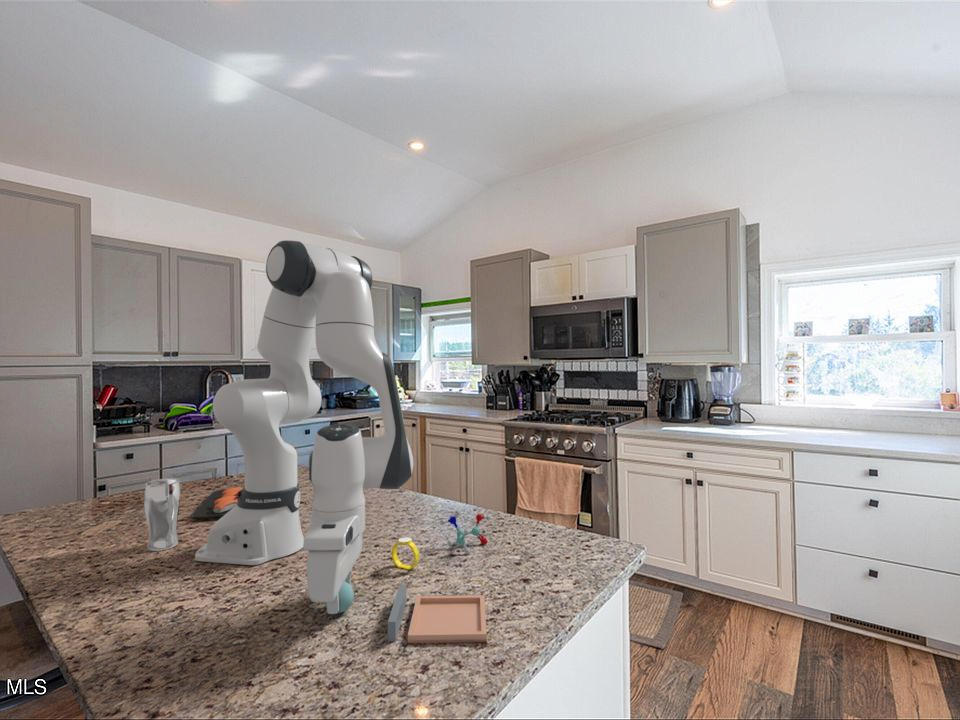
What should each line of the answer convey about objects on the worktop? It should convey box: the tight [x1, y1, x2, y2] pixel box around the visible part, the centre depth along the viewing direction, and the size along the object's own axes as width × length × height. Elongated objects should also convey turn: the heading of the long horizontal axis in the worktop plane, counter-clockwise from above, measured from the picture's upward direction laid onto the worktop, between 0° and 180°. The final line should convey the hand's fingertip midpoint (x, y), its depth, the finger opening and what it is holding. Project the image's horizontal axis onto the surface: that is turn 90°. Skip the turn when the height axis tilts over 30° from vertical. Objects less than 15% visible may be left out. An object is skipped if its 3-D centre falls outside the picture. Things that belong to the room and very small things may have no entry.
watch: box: [391, 536, 420, 571], centre depth 99 cm, size 6×3×6 cm, turn 65°
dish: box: [407, 594, 488, 644], centre depth 78 cm, size 12×12×1 cm
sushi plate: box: [192, 486, 307, 519], centre depth 145 cm, size 29×30×4 cm
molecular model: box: [439, 509, 492, 555], centre depth 110 cm, size 12×10×10 cm
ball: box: [323, 581, 355, 614], centre depth 81 cm, size 5×5×5 cm
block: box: [387, 584, 407, 643], centre depth 79 cm, size 1×12×3 cm, turn 1°
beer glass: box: [143, 477, 181, 552], centre depth 110 cm, size 7×7×15 cm
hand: (339, 601), depth 81 cm, fingers closed on ball, 5 cm apart
